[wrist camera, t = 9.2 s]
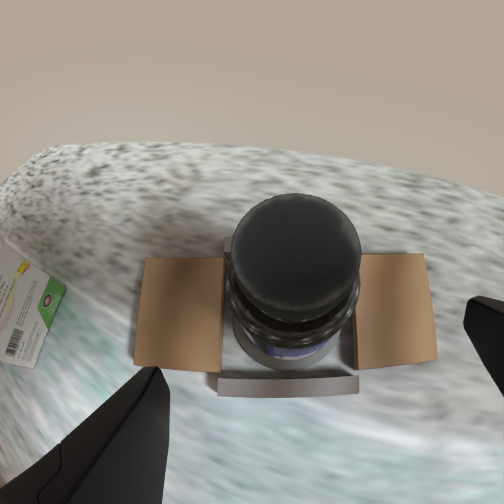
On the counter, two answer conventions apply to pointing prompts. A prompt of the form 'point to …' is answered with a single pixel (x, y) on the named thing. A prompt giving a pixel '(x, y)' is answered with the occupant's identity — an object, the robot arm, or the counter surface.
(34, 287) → the ink box
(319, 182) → the counter surface
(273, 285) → the pill bottle
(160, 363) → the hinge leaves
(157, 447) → the robot arm
